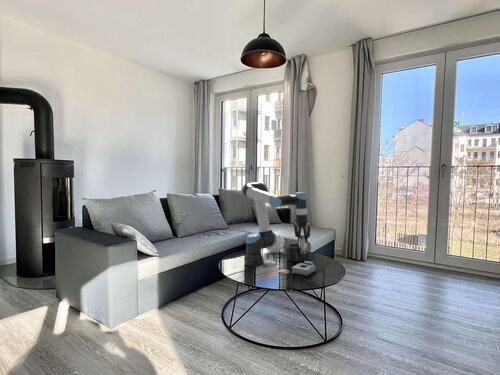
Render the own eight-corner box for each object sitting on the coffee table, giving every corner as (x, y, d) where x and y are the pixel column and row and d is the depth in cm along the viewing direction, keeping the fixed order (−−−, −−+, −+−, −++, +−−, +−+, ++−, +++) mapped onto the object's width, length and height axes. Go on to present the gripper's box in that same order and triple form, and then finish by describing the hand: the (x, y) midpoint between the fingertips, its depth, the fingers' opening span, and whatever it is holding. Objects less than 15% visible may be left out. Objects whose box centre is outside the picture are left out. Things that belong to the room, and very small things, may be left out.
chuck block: (292, 272, 205) (291, 265, 205) (302, 266, 217) (302, 260, 217) (307, 276, 198) (307, 268, 197) (317, 269, 209) (316, 262, 209)
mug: (304, 261, 230) (304, 246, 230) (286, 262, 229) (286, 247, 228) (300, 257, 241) (300, 243, 240) (283, 258, 240) (283, 244, 239)
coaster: (275, 272, 207) (275, 272, 207) (281, 269, 213) (281, 268, 213) (285, 274, 202) (285, 274, 202) (291, 271, 208) (291, 270, 208)
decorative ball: (288, 251, 261) (287, 229, 260) (280, 256, 246) (279, 233, 245) (268, 249, 271) (268, 228, 270) (260, 253, 257) (259, 231, 256)
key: (298, 254, 204) (298, 235, 203) (303, 251, 209) (302, 234, 208) (303, 254, 202) (302, 236, 201) (307, 252, 207) (306, 234, 206)
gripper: (288, 214, 206) (290, 246, 207) (309, 215, 196) (311, 249, 197) (294, 212, 212) (295, 244, 213) (314, 214, 202) (315, 247, 203)
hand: (302, 247), depth 205 cm, fingers closed on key, 3 cm apart
